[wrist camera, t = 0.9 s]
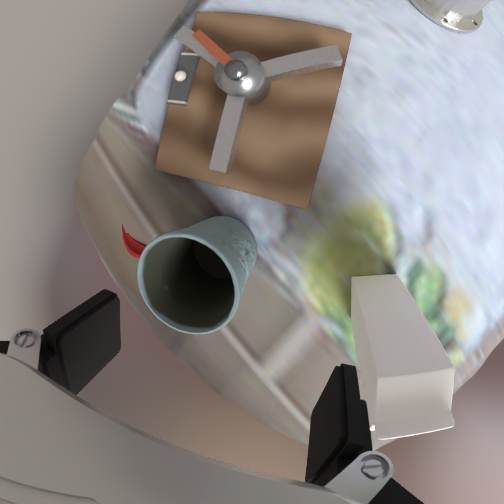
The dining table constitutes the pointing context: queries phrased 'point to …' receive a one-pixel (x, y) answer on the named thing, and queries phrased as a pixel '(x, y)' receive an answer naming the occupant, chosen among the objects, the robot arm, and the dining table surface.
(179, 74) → the level ball
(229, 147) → the capstan
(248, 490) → the robot arm
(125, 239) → the cayenne pepper
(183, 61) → the level window
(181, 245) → the grey-green cup
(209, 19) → the board
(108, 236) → the dining table surface
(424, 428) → the milk
